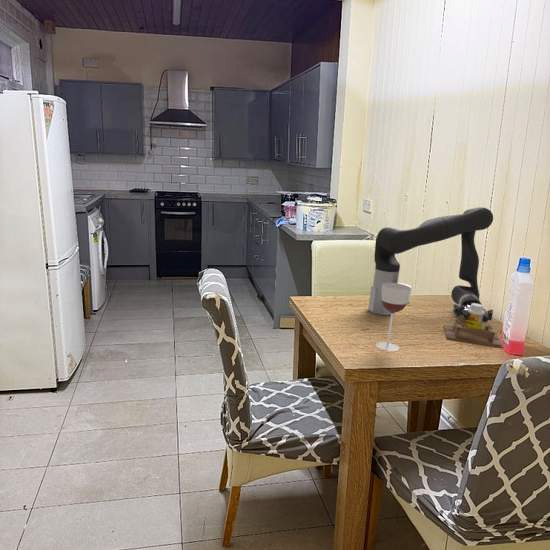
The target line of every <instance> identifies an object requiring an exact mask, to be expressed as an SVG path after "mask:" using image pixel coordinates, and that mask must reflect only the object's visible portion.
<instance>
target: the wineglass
mask: <svg viewBox="0 0 550 550" xmlns="http://www.w3.org/2000/svg"><path fill="white" fill-rule="evenodd" d="M398 283H399V282H398ZM398 283H383V284H382V304H383V306H384V308H386V309H387V310H388V311H389V312H391V315H390V318H389V319H390V320H389V324H388V325H389V326H388V333H387V340H386V341H385V342H384V341H382V342H381V341H380V342H377V343H376V344H375V346H376V347H377V348H379V349H381V350H384V351H389V352H396V351H399V350H400V346H398V345H397V344H396V343H395V344H394V343H392V342H390V341H391V335H392V327H393V322H394V321H393V318H394V314H395V313H398V312H401V311H403V310H404V309H405V308H406V306H407V304H408V303H407V300H408V297H409V293H410V287H408V286H406V285H403V284H404V283H402V284H398Z"/></svg>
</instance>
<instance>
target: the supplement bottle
mask: <svg viewBox="0 0 550 550" xmlns="http://www.w3.org/2000/svg"><path fill="white" fill-rule="evenodd" d="M481 304H482V303H481ZM481 304H477V303H472V304H471V308H469V309H468V311H467V312H468V319H467V320H465V324H464V327H466V328H473V329H480V330H483V329H482V328H483V324H484V322H483V319H484V311H483V309H484V305H483V304H482V305H481Z"/></svg>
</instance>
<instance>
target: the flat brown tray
mask: <svg viewBox="0 0 550 550" xmlns="http://www.w3.org/2000/svg"><path fill="white" fill-rule="evenodd" d="M453 322H454V323H453V326H452V325H446V324H444V325H443V331H444V334H445V338H446V340H450V341H456V342H461V343H462V342H463V343H470V344H477V345H481V344H482V345H481V346H483V345H484V346H488V345H489V347H494V346H498V347H497V348H501V347H500V346H502V345H503V344H502V345H501V343H502V341H501V339H500V338H499V336H498V335H497V333H496V332H495V331H494V330H493V327H492V326H491V324H485V325H484V328H483V329H481V330H480V329H473V328H466V327H465V326H462V325H461V322H460V320H459V319H454V321H453Z"/></svg>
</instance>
